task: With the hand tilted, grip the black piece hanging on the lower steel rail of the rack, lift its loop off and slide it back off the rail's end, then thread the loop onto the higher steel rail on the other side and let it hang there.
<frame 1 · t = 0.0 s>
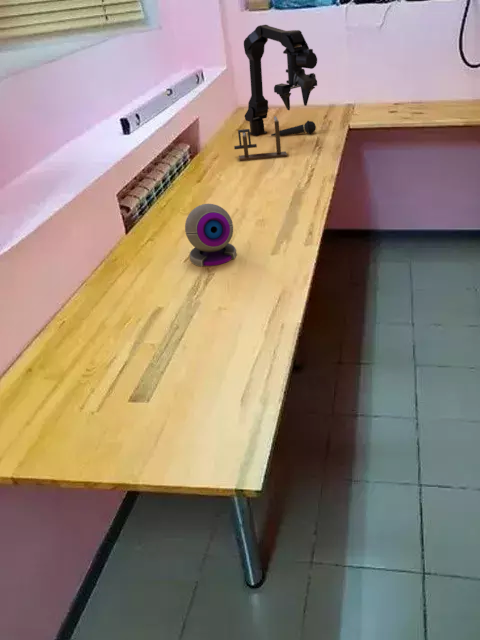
hand: (297, 107, 253), 15 cm above the table, tool pointing down, fingers open, 9 cm apart
black piece: (243, 131, 246), point 10 cm above the table, touching rack
rack: (262, 154, 252), on the table
microphone: (294, 134, 274), on the table
webcam: (213, 257, 173), on the table
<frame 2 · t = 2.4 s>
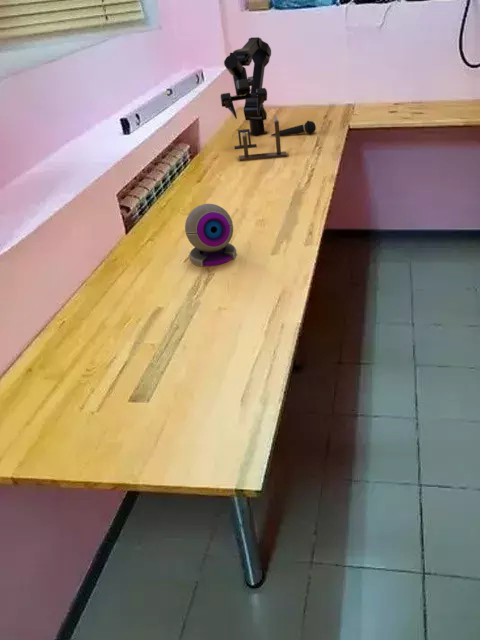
hand: (247, 116, 250), 13 cm above the table, tool tilted 40°, fingers open, 9 cm apart
nothing on the table moved.
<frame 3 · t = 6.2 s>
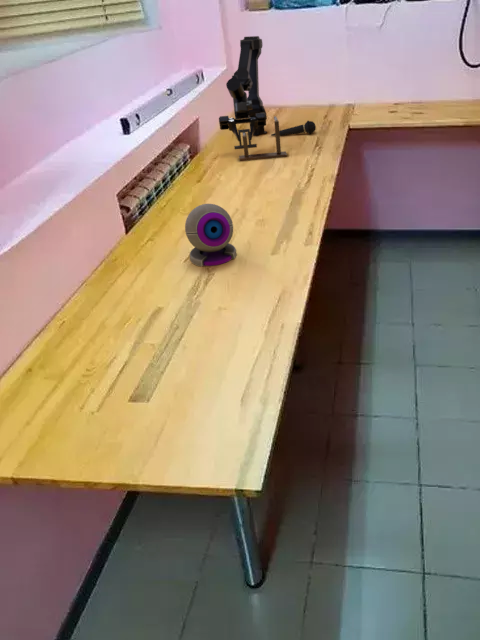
hand: (244, 140, 246), 7 cm above the table, tool tilted 45°, fingers closed on black piece, 4 cm apart
black piece: (244, 131, 246), point 10 cm above the table, touching gripper, rack
everything else where it was.
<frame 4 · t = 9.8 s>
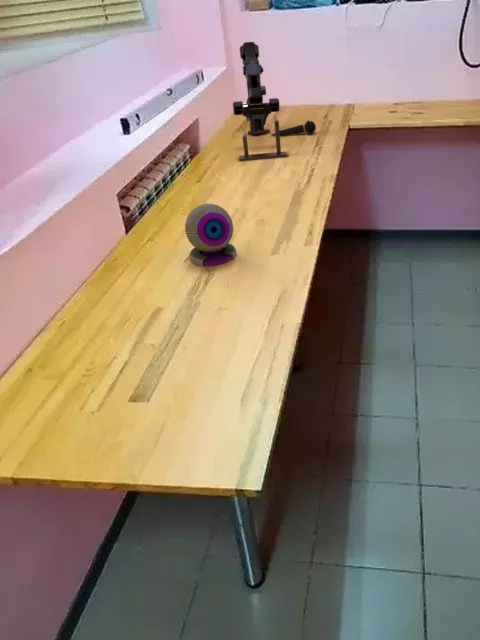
hand: (258, 125, 250), 10 cm above the table, tool tilted 45°, fingers closed on black piece, 4 cm apart
black piece: (257, 117, 250), point 13 cm above the table, touching gripper
everything else where it was.
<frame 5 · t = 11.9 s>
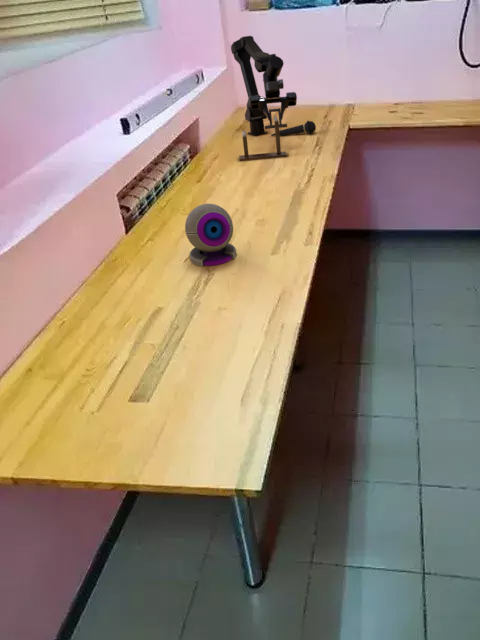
hand: (275, 119, 246), 13 cm above the table, tool tilted 45°, fingers closed on black piece, 4 cm apart
black piece: (274, 111, 246), point 16 cm above the table, touching gripper
everything else where it was.
when the fingers open (11 cm above the table, at t = 13.6 s): black piece stays where it is, resting on rack.
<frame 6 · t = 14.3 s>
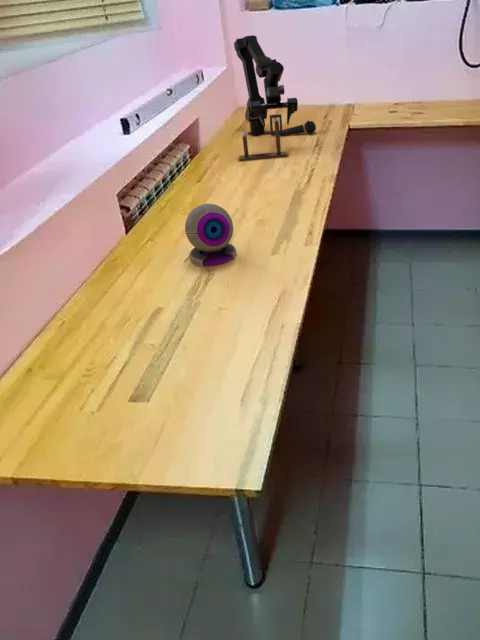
hand: (276, 125, 245), 11 cm above the table, tool tilted 45°, fingers open, 9 cm apart
black piece: (275, 117, 244), point 14 cm above the table, touching rack
everything else where it was.
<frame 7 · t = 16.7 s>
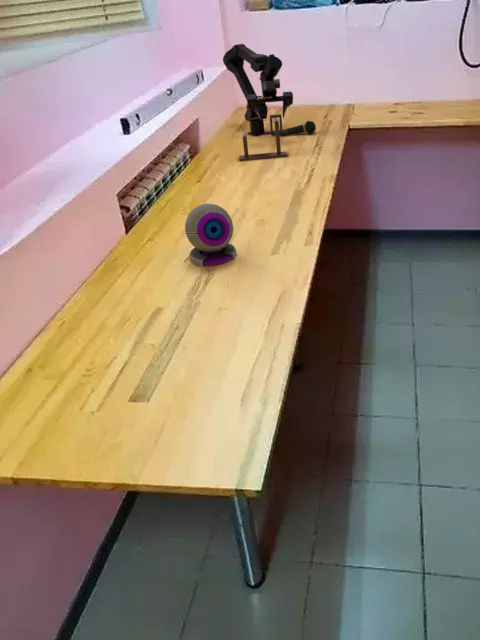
hand: (272, 118, 253), 12 cm above the table, tool tilted 45°, fingers open, 9 cm apart
nothing on the table moved.
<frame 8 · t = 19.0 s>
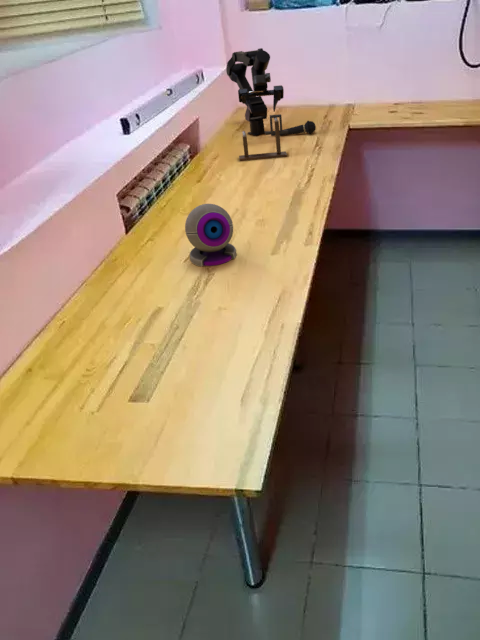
hand: (263, 112, 255), 14 cm above the table, tool tilted 45°, fingers open, 9 cm apart
nothing on the table moved.
at the end: black piece 0.0 cm from the target spot, point 14.1 cm above the table; black piece touching rack; the gripper is holding nothing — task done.
